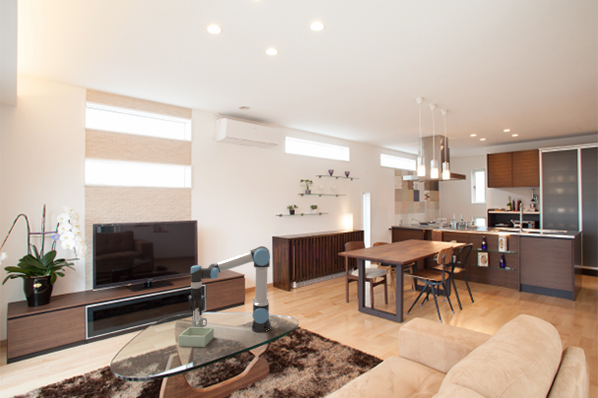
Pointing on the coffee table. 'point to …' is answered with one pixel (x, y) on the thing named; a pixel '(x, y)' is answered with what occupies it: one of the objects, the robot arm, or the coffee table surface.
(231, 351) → the coffee table surface
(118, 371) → the coffee table surface
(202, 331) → the box
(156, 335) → the coffee table surface
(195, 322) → the peg
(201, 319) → the mug
